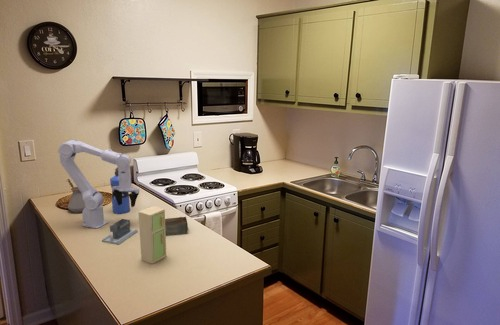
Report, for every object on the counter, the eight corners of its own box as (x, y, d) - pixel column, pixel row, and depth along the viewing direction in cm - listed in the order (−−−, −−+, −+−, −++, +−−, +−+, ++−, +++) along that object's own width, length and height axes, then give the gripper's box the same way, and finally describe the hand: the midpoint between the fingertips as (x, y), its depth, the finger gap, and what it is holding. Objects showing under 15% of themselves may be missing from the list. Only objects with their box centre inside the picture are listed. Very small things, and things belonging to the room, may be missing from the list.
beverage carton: (147, 230, 170) (146, 218, 169) (187, 227, 175) (186, 215, 173) (146, 237, 163) (145, 224, 161) (188, 234, 167) (187, 221, 166)
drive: (110, 238, 159) (109, 226, 158) (123, 230, 167) (122, 218, 166) (118, 239, 158) (117, 227, 157) (130, 231, 166) (129, 219, 165)
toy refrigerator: (153, 265, 138) (151, 215, 133) (140, 260, 142) (138, 211, 137) (168, 257, 145) (166, 209, 140) (155, 252, 148) (153, 205, 144)
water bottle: (126, 214, 190) (123, 169, 184) (109, 214, 190) (106, 169, 184) (132, 208, 199) (130, 165, 193) (116, 208, 199) (113, 165, 193)
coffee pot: (94, 210, 194) (91, 184, 191) (72, 215, 187) (69, 188, 183) (80, 201, 209) (78, 176, 206) (59, 205, 201) (56, 180, 198)
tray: (102, 241, 157) (101, 231, 156) (121, 229, 170) (121, 220, 169) (119, 244, 155) (118, 234, 154) (137, 232, 168) (137, 222, 167)
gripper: (107, 180, 170) (109, 206, 173) (132, 182, 166) (134, 209, 169) (116, 176, 177) (118, 201, 180) (141, 179, 173) (142, 205, 176)
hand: (126, 205), depth 175 cm, fingers open, 7 cm apart
